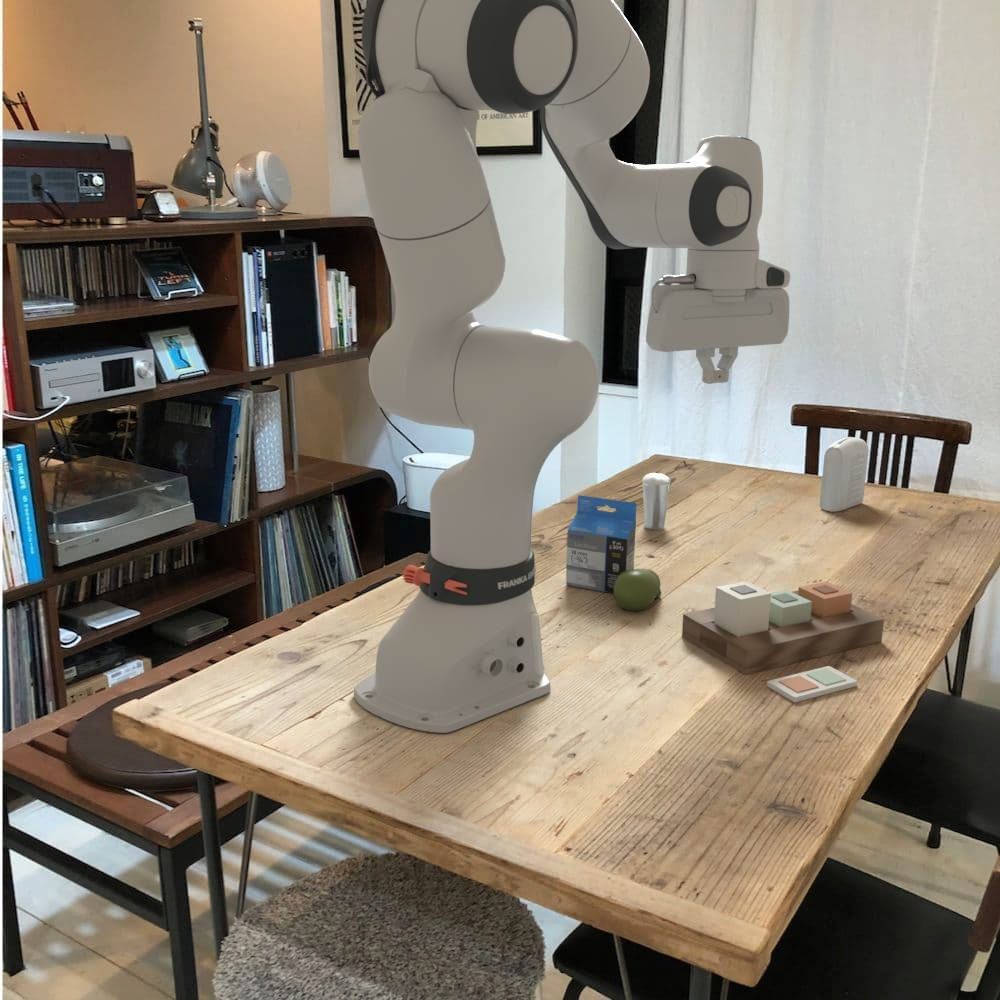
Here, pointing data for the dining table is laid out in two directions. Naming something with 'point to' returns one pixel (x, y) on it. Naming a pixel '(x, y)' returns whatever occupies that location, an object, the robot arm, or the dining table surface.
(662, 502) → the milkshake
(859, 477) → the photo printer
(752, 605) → the key ivory
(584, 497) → the label tape cartridge
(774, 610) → the key sage
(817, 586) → the key rust
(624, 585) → the pear
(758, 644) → the keypad base
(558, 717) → the dining table surface
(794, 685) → the tile
